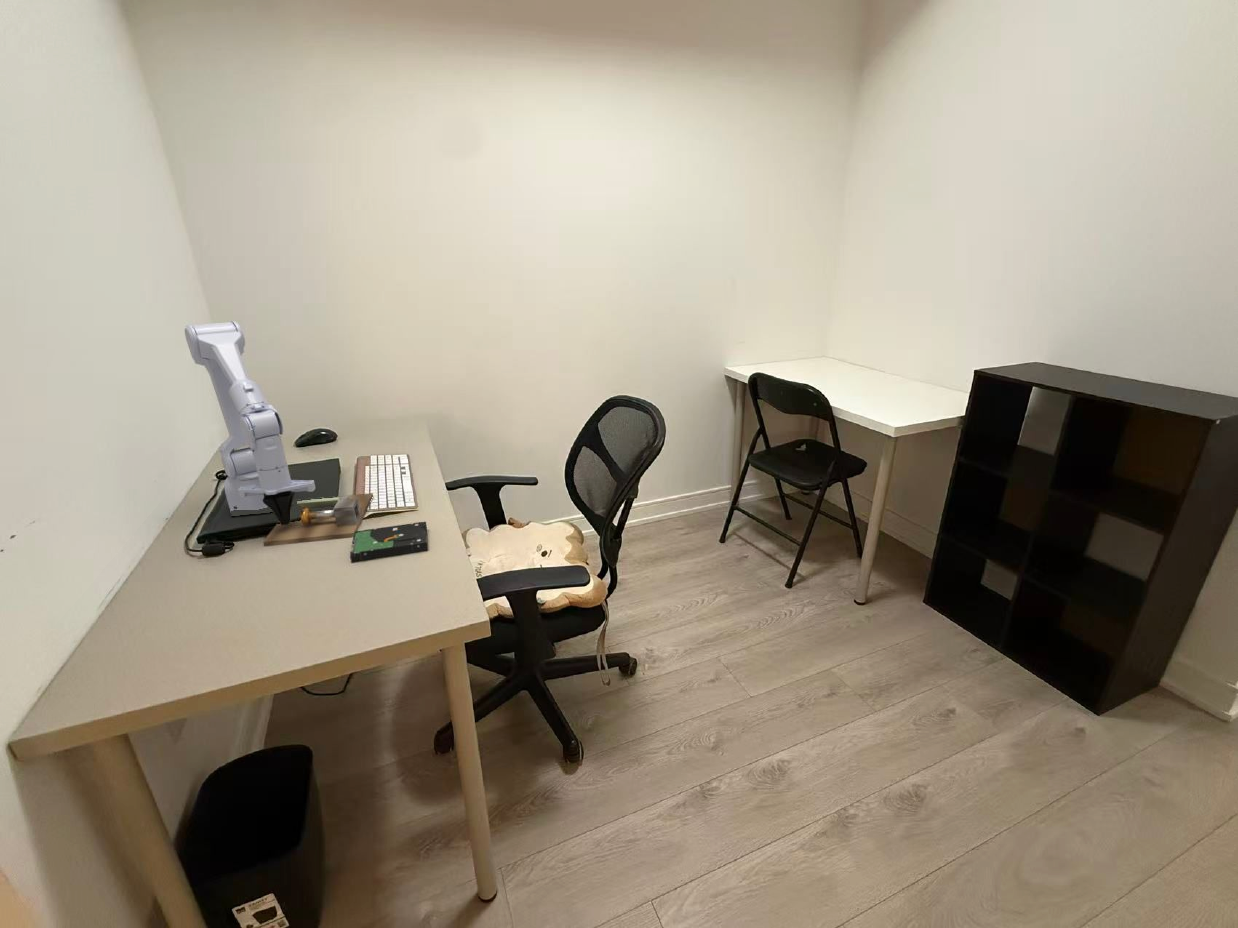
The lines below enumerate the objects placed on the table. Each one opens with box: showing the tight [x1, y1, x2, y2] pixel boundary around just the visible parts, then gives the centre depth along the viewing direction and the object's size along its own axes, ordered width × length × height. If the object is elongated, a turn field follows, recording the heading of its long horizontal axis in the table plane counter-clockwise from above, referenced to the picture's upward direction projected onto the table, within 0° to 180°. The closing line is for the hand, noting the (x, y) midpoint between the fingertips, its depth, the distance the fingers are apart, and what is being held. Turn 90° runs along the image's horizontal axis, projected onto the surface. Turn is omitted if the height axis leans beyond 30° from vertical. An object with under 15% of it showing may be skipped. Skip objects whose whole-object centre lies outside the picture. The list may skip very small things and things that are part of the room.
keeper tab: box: [297, 497, 342, 509], centre depth 133 cm, size 9×6×1 cm
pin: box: [300, 508, 335, 524], centre depth 127 cm, size 8×3×3 cm, turn 102°
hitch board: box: [262, 492, 374, 547], centre depth 131 cm, size 18×22×5 cm
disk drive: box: [349, 521, 429, 564], centre depth 120 cm, size 10×3×15 cm
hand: (285, 522), depth 126 cm, fingers closed
